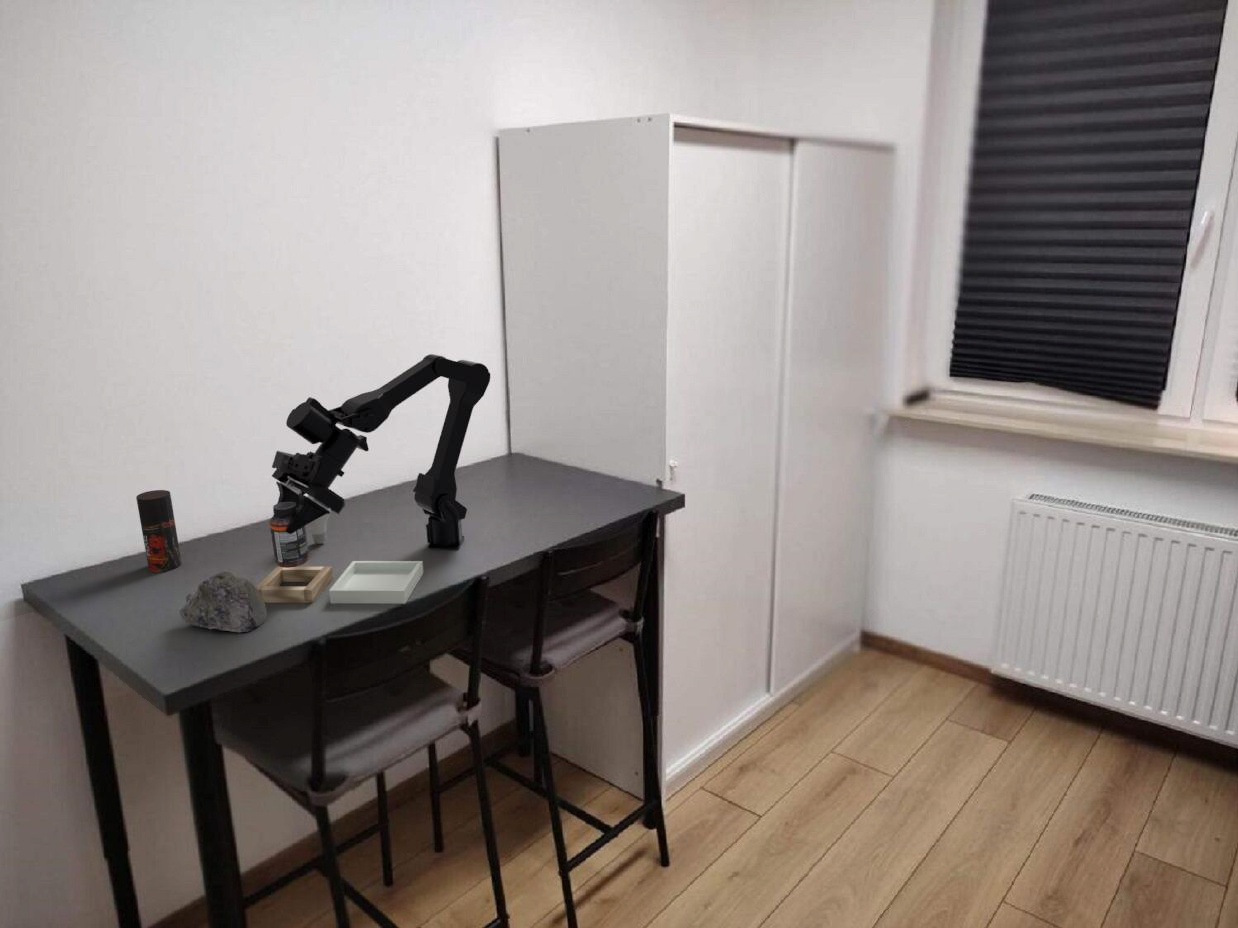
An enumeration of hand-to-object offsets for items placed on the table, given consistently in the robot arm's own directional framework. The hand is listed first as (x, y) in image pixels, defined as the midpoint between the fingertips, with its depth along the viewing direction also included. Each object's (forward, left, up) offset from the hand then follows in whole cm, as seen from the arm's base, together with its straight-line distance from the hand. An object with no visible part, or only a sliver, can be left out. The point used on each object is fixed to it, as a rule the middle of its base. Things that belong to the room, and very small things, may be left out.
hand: (280, 528), depth 162 cm
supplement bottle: (-1, -1, -7) cm, 7 cm away
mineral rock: (+6, +13, -13) cm, 19 cm away
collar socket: (-1, -1, -13) cm, 13 cm away
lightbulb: (+3, -24, -13) cm, 28 cm away
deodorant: (+30, -12, -13) cm, 35 cm away
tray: (-16, -2, -13) cm, 21 cm away
